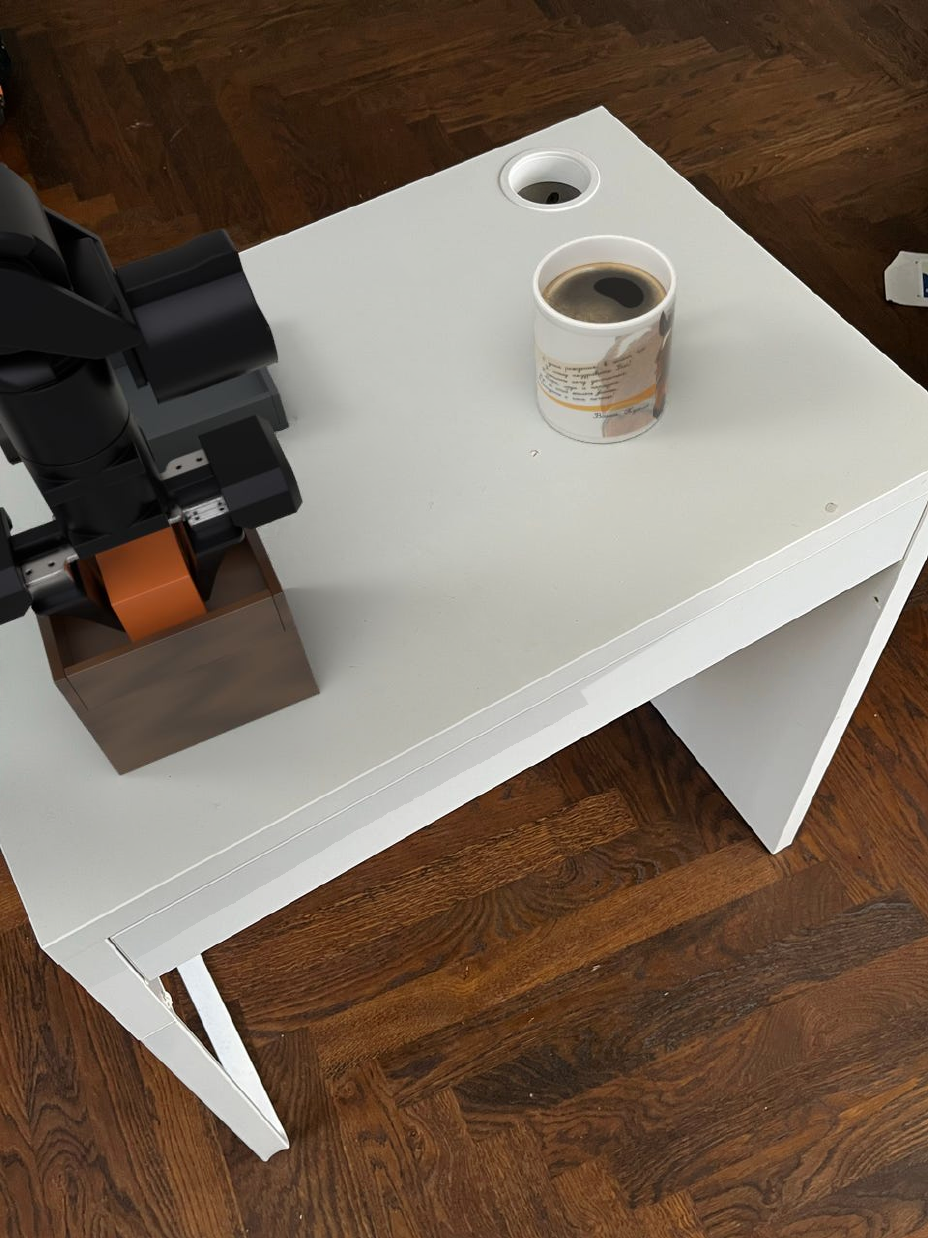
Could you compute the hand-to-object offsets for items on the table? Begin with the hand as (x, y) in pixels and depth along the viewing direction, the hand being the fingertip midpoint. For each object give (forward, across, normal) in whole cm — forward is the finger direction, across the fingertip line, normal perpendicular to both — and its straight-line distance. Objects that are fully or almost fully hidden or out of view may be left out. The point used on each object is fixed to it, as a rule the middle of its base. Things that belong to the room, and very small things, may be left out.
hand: (166, 610), depth 68 cm
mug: (+9, -36, -12) cm, 39 cm away
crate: (+8, 0, -1) cm, 9 cm away
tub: (+8, -5, -26) cm, 28 cm away
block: (+1, 0, 0) cm, 1 cm away
